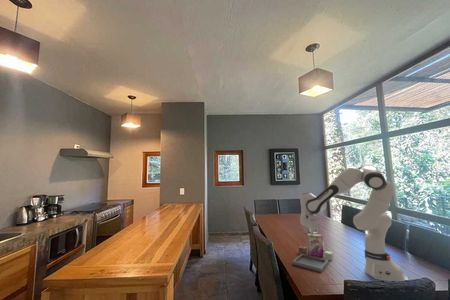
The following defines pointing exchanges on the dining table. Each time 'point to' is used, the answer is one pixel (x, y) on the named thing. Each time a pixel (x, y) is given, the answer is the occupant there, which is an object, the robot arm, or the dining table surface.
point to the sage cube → (328, 255)
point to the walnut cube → (302, 250)
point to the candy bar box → (315, 245)
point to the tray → (311, 262)
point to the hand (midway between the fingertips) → (308, 233)
